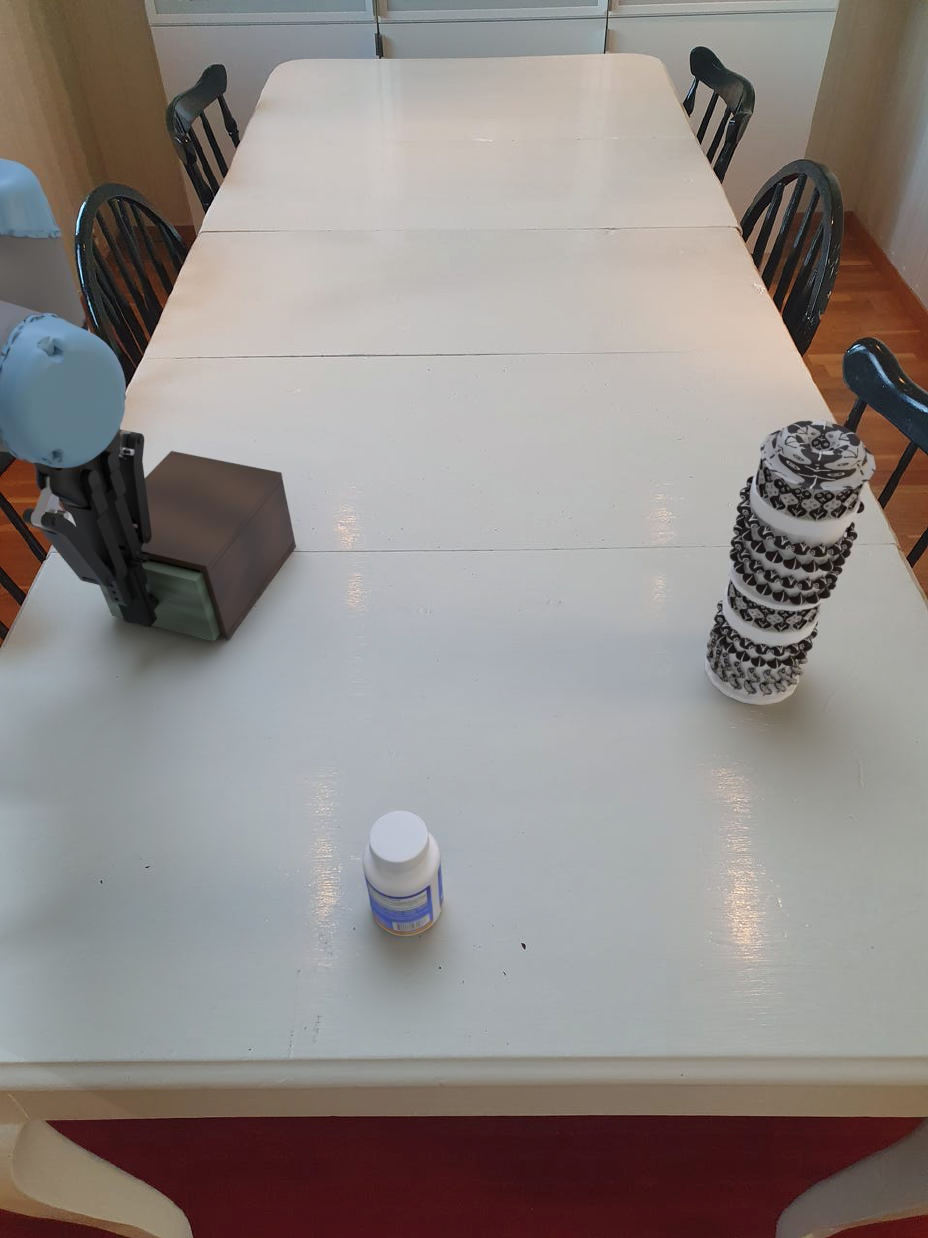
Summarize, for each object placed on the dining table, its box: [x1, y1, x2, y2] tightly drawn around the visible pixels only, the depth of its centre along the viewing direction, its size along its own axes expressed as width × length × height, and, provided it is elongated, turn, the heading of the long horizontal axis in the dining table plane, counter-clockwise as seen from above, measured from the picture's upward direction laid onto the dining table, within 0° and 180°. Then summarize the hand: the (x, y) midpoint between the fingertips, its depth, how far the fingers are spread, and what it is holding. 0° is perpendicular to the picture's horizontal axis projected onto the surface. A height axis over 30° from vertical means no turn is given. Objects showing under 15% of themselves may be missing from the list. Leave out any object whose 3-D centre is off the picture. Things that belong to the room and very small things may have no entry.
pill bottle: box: [361, 810, 444, 937], centre depth 64 cm, size 5×5×10 cm
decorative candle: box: [704, 419, 877, 706], centre depth 74 cm, size 9×9×25 cm
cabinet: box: [133, 450, 297, 641], centre depth 90 cm, size 15×13×10 cm
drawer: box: [98, 559, 221, 642], centre depth 88 cm, size 15×11×8 cm
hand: (140, 619), depth 83 cm, fingers closed
